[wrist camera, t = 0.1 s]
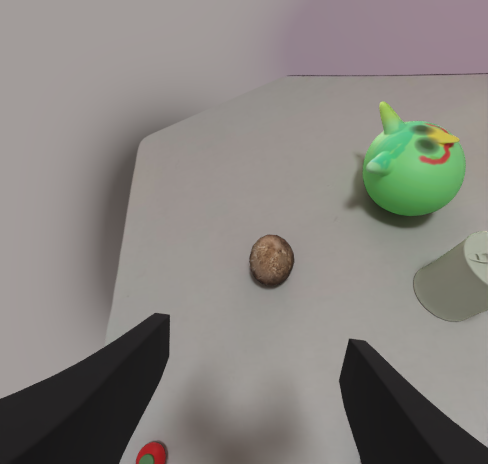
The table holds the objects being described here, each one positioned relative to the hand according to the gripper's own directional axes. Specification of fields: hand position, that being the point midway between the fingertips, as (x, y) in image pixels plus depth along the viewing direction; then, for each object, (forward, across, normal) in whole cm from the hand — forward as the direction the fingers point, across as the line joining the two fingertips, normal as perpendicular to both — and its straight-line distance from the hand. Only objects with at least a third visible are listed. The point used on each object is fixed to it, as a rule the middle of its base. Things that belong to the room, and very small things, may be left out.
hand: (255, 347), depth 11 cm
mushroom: (+33, -2, +11) cm, 35 cm away
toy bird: (+48, -24, -2) cm, 54 cm away
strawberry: (+13, +10, +28) cm, 32 cm away
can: (+33, -30, +12) cm, 46 cm away
